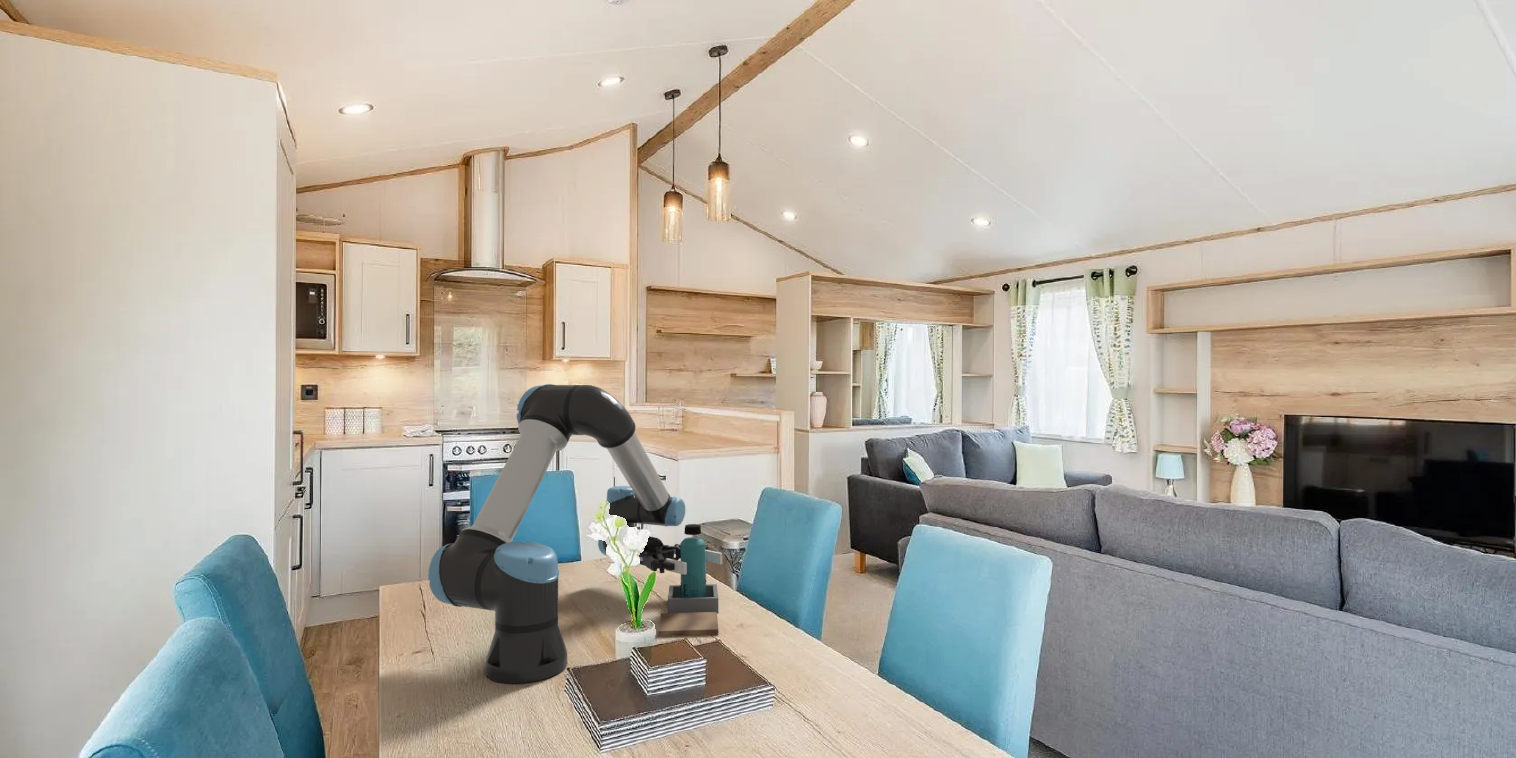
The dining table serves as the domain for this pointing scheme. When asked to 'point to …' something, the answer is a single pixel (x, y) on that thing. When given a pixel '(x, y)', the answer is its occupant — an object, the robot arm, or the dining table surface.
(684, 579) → the beverage bottle
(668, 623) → the walnut board
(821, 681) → the dining table surface
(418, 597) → the dining table surface
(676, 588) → the gray square tray
